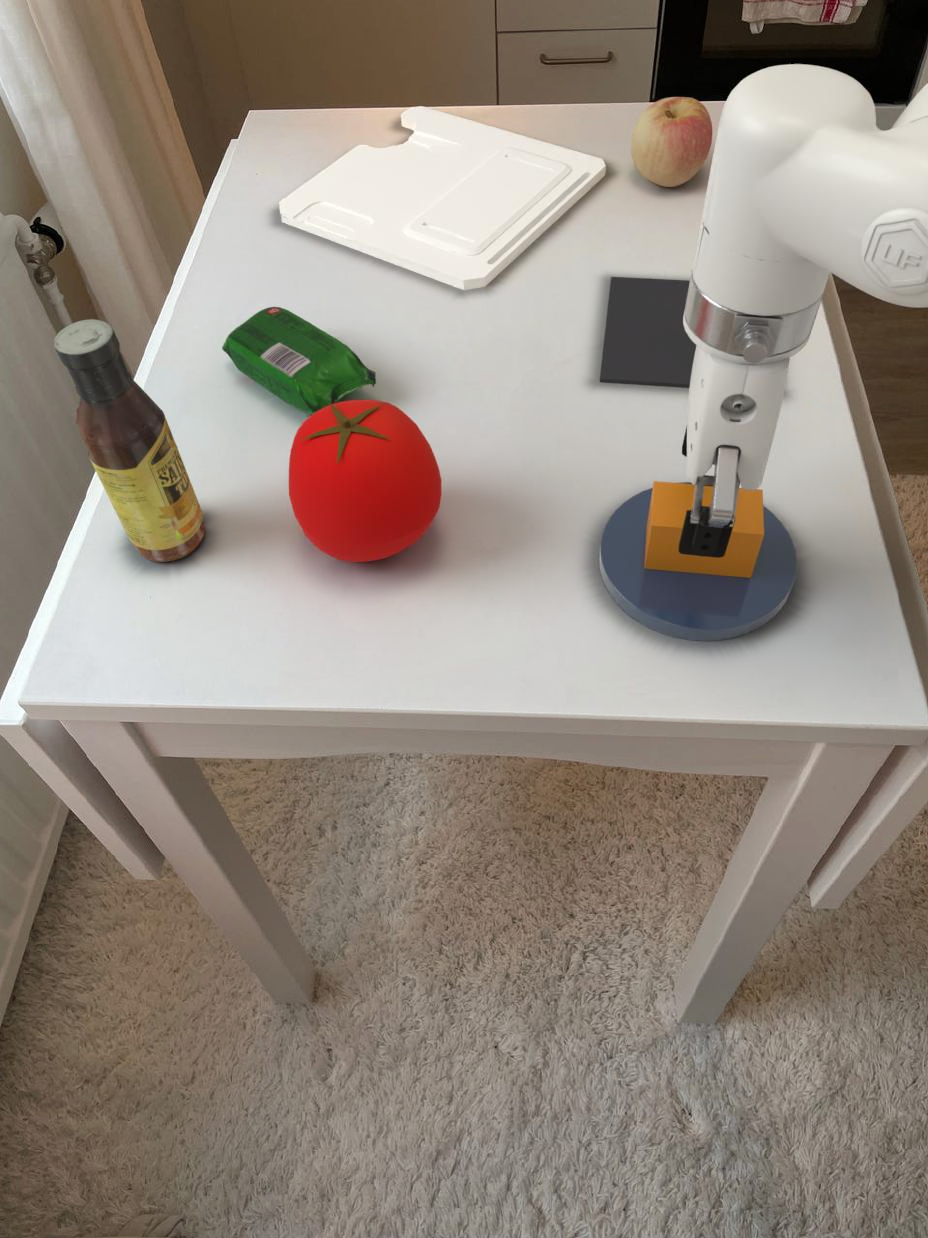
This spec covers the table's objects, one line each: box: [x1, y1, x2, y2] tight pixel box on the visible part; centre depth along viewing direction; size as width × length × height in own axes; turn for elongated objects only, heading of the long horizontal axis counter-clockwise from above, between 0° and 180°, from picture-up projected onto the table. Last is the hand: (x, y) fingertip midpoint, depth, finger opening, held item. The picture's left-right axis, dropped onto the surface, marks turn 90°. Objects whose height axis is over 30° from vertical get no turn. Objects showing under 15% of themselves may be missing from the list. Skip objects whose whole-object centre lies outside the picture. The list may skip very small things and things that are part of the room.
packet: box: [644, 480, 764, 578], centre depth 72 cm, size 8×4×5 cm, turn 81°
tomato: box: [288, 399, 442, 563], centre depth 74 cm, size 12×12×13 cm
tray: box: [278, 105, 607, 291], centre depth 109 cm, size 28×28×2 cm
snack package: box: [221, 306, 377, 415], centre depth 88 cm, size 7×16×5 cm, turn 46°
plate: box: [598, 481, 798, 642], centre depth 75 cm, size 15×15×2 cm
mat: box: [599, 276, 696, 389], centre depth 92 cm, size 16×16×1 cm
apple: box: [630, 96, 713, 188], centre depth 106 cm, size 9×9×8 cm
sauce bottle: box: [53, 318, 206, 563], centre depth 72 cm, size 6×6×20 cm
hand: (701, 502), depth 70 cm, fingers open, 9 cm apart
